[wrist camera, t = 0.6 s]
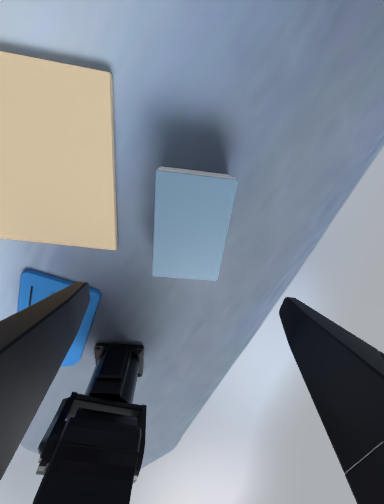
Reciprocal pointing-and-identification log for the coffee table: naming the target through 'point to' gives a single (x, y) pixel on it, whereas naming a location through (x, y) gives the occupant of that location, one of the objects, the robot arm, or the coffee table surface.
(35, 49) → the coffee table surface
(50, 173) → the cork mat
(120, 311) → the coffee table surface
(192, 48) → the coffee table surface
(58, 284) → the handheld gaming device
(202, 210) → the card box
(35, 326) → the robot arm
